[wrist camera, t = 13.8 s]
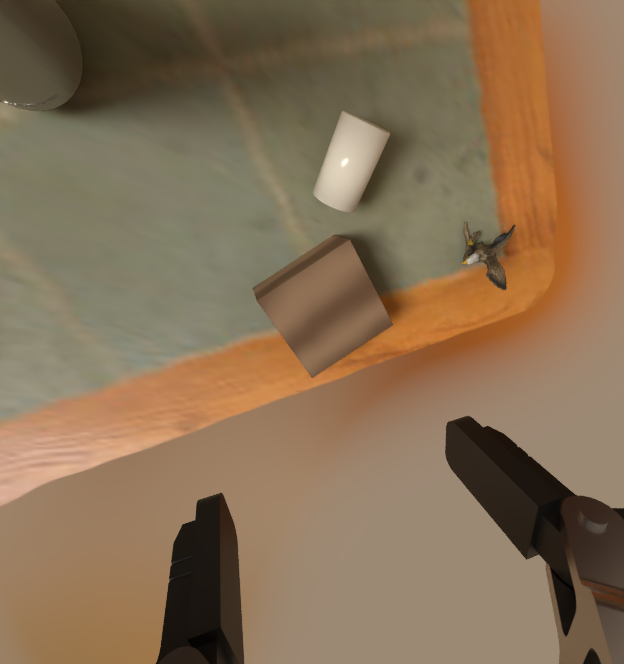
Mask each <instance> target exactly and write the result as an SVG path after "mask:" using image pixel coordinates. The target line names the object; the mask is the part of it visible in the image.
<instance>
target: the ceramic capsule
mask: <svg viewBox="0 0 624 664" xmlns="http://www.w3.org/2000/svg"><path fill="white" fill-rule="evenodd" d="M390 134H391V133H389V132H388V131H387V130H385V129H383V128H381V127H379V126H378V125H376V124H374V123H372V122H370V121H368V120H366V119H363V118H361V117H359V116H357V115H354V114H352V113H350V112H347V111H343V110H342V112H341V115H340V118H339V121H338V123H337V126H336V129H335V132H334V134H333V137H332V140H331V143H330V145H329V148H328V151H327V154H326V156H325V159H324V162H323V165H322V167H321V170H320V173H319V175H318V178H317V181H316V184H315V186H314V189H313V195H314V196H315V197H316V198H317V199H318V200H320V201H321V202H323V203H324V204H326V205H328V206H330V207H332V208H335V209H337V210H340V211H344V212H355V210H356V208H357V206H358V204H359V202H360V199H361V197H362V195H363V193H364V191H365V189H366V186H367V184H368V182H369V180H370V178H371V175H372V173H373V171H374V169H375V167H376V165H377V162H378V160H379V158H380V156H381V154H382V152H383V149H384V147H385V145H386V143H387V141H388V138H389V136H390Z"/></svg>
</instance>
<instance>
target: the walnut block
mask: <svg viewBox="0 0 624 664" xmlns="http://www.w3.org/2000/svg"><path fill="white" fill-rule="evenodd" d="M253 290H254V293H255V296H256V300H257V302H258V303H259V304H260V306H261V307H262V309H263V310H264V311H265V313H266V314H267V316H268V317H269V318H270V320H271V321H272V323H273V324H274V325H275V327H276V328H277V330H278V331H279V332H280V334H281V335H282V337H283V338H284V339H285V341H286V342H287V344H288V345H289V346H290V348H291V349H292V351H293V352H294V353H295V355H296V356H297V358H298V359H299V361H300V362H301V363H302V365H303V366H304V368H305V369H306V370H307V372H308V373H309V375H310V376H311V377H312V378H313V377H315V376H316V375H318V374H319V373H321V372H322V371H324V370H325V369H327V368H328V367H330V366H331V365H333V364H334V363H336V362H337V361H339V360H340V359H342V358H343V357H345V356H347V355H348V354H350V353H351V352H353V351H354V350H356V349H357V348H359V347H360V346H362V345H363V344H365V343H366V342H368V341H369V340H371V339H372V338H374V337H375V336H377V335H378V334H380V333H381V332H383V331H384V330H386V329H387V328H389V327H391V326H392V325H393V323H392V321H391V319H390V317H389V315H388V313H387V311H386V309H385V307H384V305H383V304H382V302H381V300H380V298H379V296H378V294H377V292H376V290H375V288H374V286H373V284H372V282H371V280H370V278H369V276H368V274H367V272H366V270H365V268H364V266H363V264H362V262H361V260H360V259H359V257H358V255H357V253H356V251H355V249H354V247H353V245H352V243H351V241H350V240H349V239H346V238H343V237H340V236H336V235H333V236H331V237H330V238H328V239H327V240H325V241H324V242H322V243H321V244H319V245H318V246H316V247H315V248H313V249H312V250H310V251H309V252H307V253H306V254H304V255H303V256H301V257H299V258H298V259H296V260H295V261H293V262H292V263H290V264H289V265H287V266H286V267H284V268H283V269H281V270H280V271H278V272H277V273H275V274H274V275H272V276H271V277H269V278H268V279H266V280H264V281H263V282H261V283H260V284H258V285H257V286H255V287H254V288H253Z"/></svg>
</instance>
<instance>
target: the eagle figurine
mask: <svg viewBox="0 0 624 664" xmlns="http://www.w3.org/2000/svg"><path fill="white" fill-rule="evenodd" d="M514 229H515V225H513V227H512V228H511V230H510V231H509V233H503V234H501V235H500V236H498V238H496V239H495V240H494V242H493V244H491V245H483V241H481V243H479V244H475V242H476V241H477V239H478V236H479V233H480V231H478V232H475V233H473V234H472V236H471V237H469V234H468V229H467V223H466V222H465V223H464V227H463V232H464V235H465V238H466V253H465V254H464V256H465V257H464V258H463V259H464V261H463V262H461V263H462V265H464V264H466V263H467V264H472V263H474V262H484V263H486V264H487V268H488V271H487V274H486V276H487V277H488V278H489V280H490V281H491V282H493V284H494V285H495V286H497V287H498V288H501V289H502V290H506V276H505V271H504V269H503V267H502V266H501V264H500V263H499V261H498V260H497V257H496V255H497V252H498V250H500V249H502V248H503V247H504V246H505V245H506V244H507V242H508V241H509V239H510V237H511V235H512V233H513V231H514ZM477 249H478V250H477Z"/></svg>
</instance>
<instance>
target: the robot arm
mask: <svg viewBox="0 0 624 664" xmlns="http://www.w3.org/2000/svg"><path fill="white" fill-rule="evenodd" d="M82 65H83V60H82V53H81V47H80V44H79V41H78V38H77V35H76V32H75V30H74V28H73V26H72V24H71V23H70V21H69V19H68V17H67V16H66V14H65V13H64V12H63V10H62V9H61V8H60V6H59V5H58V4H57V2H56V1H55V0H0V102H3V103H6V104H9V105H11V106H14V107H16V108H20V109H25V110H29V111H45V110H50V109H54V108H57V107H58V106H60V105H62V104H64V103H66V102H67V101H68V100H69V99H70V98H71V97H72V96H73V95H74V93H75V91H76V90H77V88H78V86H79V83H80V80H81V76H82ZM445 450H446V451H445V453H446V459H447V462H448V464H449V466H450V468H451V469H452V470H453V472H454V473H455V474H456V475H457V477H458V478H459V479H460V480H461V481H462V483H463V484H464V485H465V486H466V487H467V489H468V490H469V491H470V492H471V494H472V495H473V496H474V497H475V498H476V499H477V501H478V502H479V503H480V504H481V506H482V507H483V508H484V509H485V510H486V511H487V512H488V514H489V515H490V516H491V518H492V519H493V520H494V521H495V522H496V524H497V525H498V526H499V527H500V528H501V529H502V531H503V532H504V533H505V534H506V536H507V537H508V538H509V539H510V540H511V542H512V543H513V544H514V545H515V546H516V548H517V549H518V550H519V551H520V552H521V554H522V555H523V556H524V557H525V558H526V559H529V558H532V557H534V556H536V555H540V556H541V557H542V558H543V559H544V560H545V561H546V574H547V579H548V584H549V590H550V595H551V600H552V606H553V611H554V616H555V622H556V627H557V632H558V638H559V647H560V655H559V664H624V508H622V509H621V508H618V509H617V508H610V507H609V506H608V505H606V504H604V503H603V502H600V501H598V500H596V499H593V498H590V497H586V496H577V495H575V494H574V493H573V492H571V491H570V490H569V489H568V488H567V487H565V486H564V485H563V484H562V483H561V482H560V481H558V480H557V479H556V478H555V477H554V476H553V475H551V474H550V473H549V472H548V471H547V470H546V469H544V468H543V467H542V466H541V465H540V464H539V463H537V462H536V461H535V460H534V459H533V458H532V457H529V456H528V454H527V453H526V452H525V451H523V450H522V449H521V448H520V447H517V445H516V444H515V443H514V442H513V441H512V440H511V439H509V438H508V437H507V436H506V435H505V434H503V433H501V432H499V431H497V430H495V429H493V428H491V427H489V426H486V427H482V426H481V425H480V424H479V423H477V422H476V421H475V420H474V419H473V418H472V417H470V416H466V417H462V418H459V419H456V420H453V421H450V422H448V423H447V426H446V449H445ZM171 563H172V566H171V568H170V576H169V579H170V582H169V584H168V592H167V601H166V608H165V617H164V625H163V632H162V640H161V648H160V653H159V656H158V660H157V662H156V664H244V650H243V632H242V614H241V596H240V578H239V559H238V543H237V535H236V529H235V525H234V522H233V519H232V517H231V514H230V511H229V509H228V506H227V504H226V501H225V498H224V496H223V494H222V493H219V494H216V495H213V496H210V497H207V498H203V499H200V500H198V501H197V507H196V520H195V521H192V522H189V523H186V524H183V525H182V527H181V529H180V531H179V533H178V535H177V537H176V539H175V541H174V544H173V552H172V560H171Z"/></svg>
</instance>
